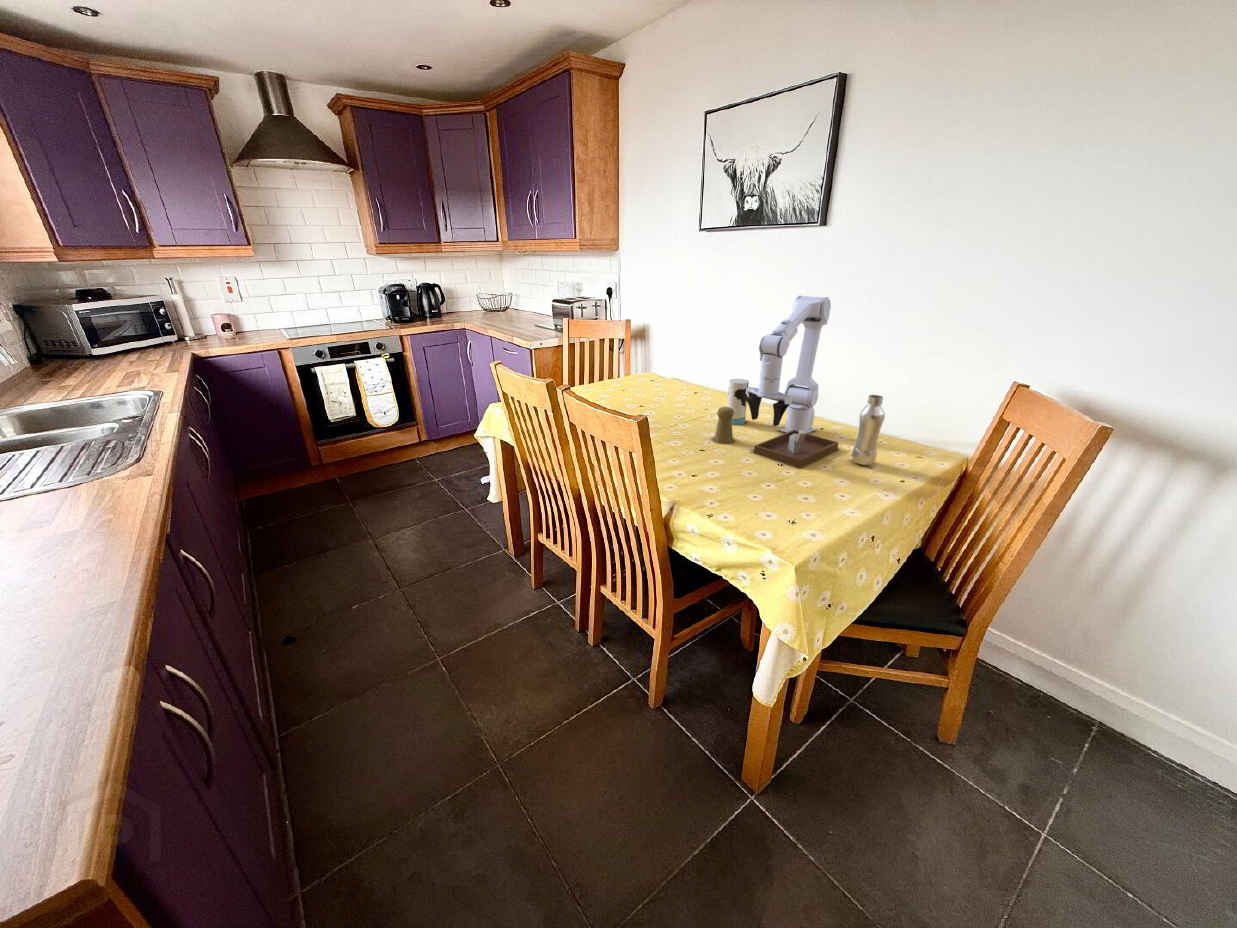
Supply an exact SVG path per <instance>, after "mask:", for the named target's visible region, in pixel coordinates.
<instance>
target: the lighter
mask: <svg viewBox="0 0 1237 928" xmlns="http://www.w3.org/2000/svg"><path fill="white" fill-rule="evenodd" d="M805 436H806V432H805V430H800V431H799V433H798V435H797V434H793V435H790V438H789V445H788V449H789V450H790V451H791V452H793V453H799V447H800V443H802V442H803V440H804V438H805Z"/></svg>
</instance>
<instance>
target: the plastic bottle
mask: <svg viewBox="0 0 1237 928" xmlns="http://www.w3.org/2000/svg"><path fill="white" fill-rule="evenodd" d="M883 400H884V397H883V396H882V395H879V394H870V395H868V398H867V400H866V401H867V404H866V405H865V406H864V407H863V408H862V409H861V410H860V412H859V421H858V422H859V425H858V433H857V438H856V440H855V441H856V442H855V445H854V447H853V450H852V452H851V459H852V461H853V462H854V463H856V464H857V465H863V466H871V465H872V464H874V463H875V462H876V459H877V457H878V451H877V449H878V440H879V436H880V432H881V429H882V426H883V423H884V421H885V418H886V415H885V412H884V409H883V407H882V405H883V404H884V403H883Z"/></svg>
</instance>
